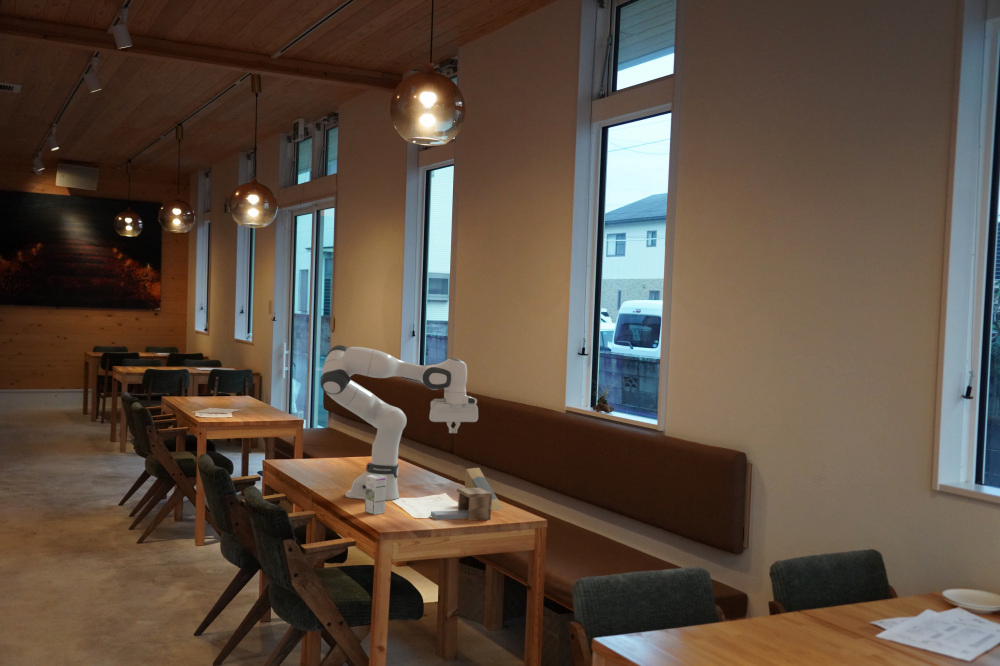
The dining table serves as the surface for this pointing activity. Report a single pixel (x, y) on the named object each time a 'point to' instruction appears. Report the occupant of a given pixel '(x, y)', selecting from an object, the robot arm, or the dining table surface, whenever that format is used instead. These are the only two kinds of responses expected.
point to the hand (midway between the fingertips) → (452, 433)
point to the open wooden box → (475, 503)
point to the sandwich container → (481, 485)
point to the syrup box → (375, 494)
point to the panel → (449, 514)
